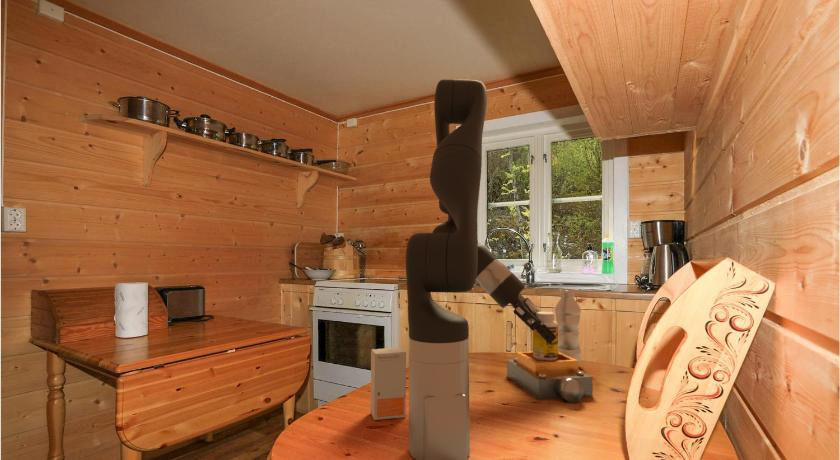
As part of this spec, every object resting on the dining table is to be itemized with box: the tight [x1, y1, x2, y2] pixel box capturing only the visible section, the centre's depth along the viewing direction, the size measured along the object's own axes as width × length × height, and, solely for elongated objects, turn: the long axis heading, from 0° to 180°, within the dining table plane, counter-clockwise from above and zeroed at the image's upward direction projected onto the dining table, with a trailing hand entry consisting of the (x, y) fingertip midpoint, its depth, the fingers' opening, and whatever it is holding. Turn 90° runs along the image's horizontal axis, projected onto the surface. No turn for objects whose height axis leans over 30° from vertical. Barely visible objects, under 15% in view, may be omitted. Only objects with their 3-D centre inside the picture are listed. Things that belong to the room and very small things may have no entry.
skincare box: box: [370, 347, 407, 421], centre depth 81 cm, size 6×4×12 cm
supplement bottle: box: [532, 311, 558, 361], centre depth 98 cm, size 6×6×10 cm
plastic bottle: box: [554, 288, 583, 366], centre depth 114 cm, size 6×7×20 cm
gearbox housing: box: [506, 350, 594, 404], centre depth 96 cm, size 20×12×6 cm, turn 11°
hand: (553, 337), depth 98 cm, fingers closed on supplement bottle, 5 cm apart
